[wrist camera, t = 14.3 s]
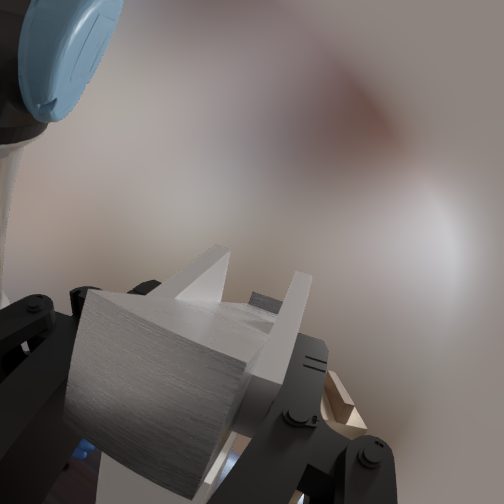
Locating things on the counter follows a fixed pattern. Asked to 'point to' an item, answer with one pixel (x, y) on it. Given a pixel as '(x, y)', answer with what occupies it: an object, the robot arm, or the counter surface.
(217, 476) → the block
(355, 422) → the stand
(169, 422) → the steel bar
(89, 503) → the counter surface
